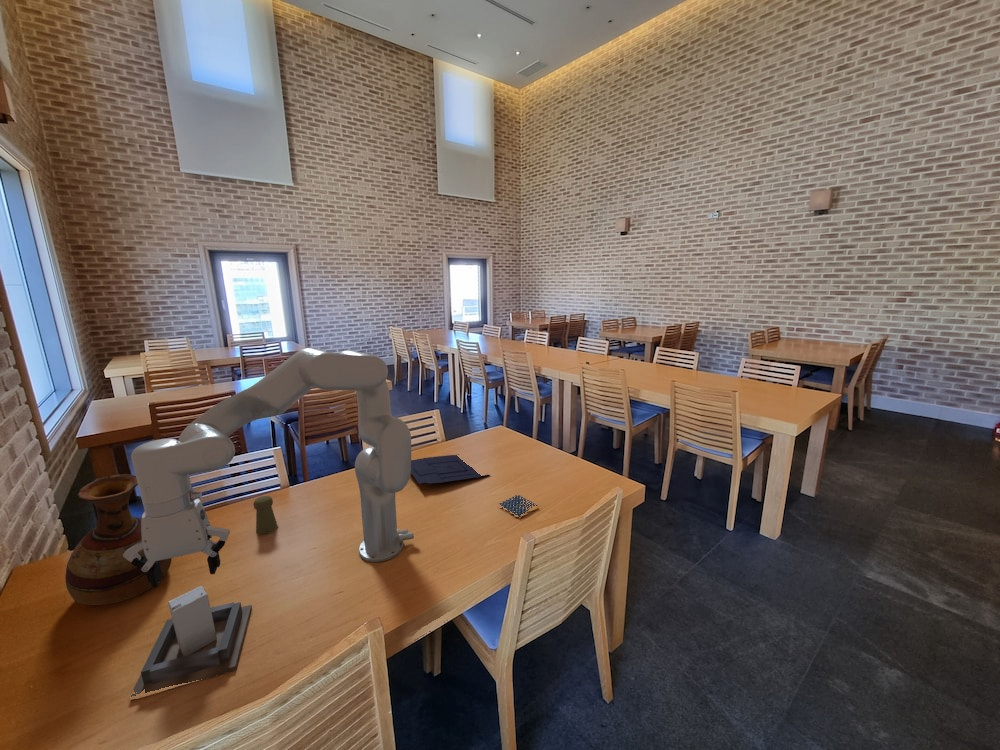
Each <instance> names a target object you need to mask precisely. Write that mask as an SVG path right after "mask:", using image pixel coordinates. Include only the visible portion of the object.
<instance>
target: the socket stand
mask: <svg viewBox="0 0 1000 750" xmlns="http://www.w3.org/2000/svg"><path fill="white" fill-rule="evenodd" d="M210 608H211V613H212V617H213V622H214V627H215V632H216V636H217V639H216V640H215V641H213V642H211V643H209V644H208V645H206V646H204V647H202V648H201V649H199V650H197V651H196V652H194V653H192V654H190V655H187V656H184V657H183V654H182V652H181V649H180V647H179V644H178V640H177V636H176V633H175V629H174V625H173V620H172V618H169V619H166V620H165V623H164V625H163V626H162V628H161V631H160V633H159V635H158V636H157V639H156V641H155V642H154V645H153V647H152V650H151V651H150V653H149V655H148V657H147V659H146V661H145V663H144V665H143V667H142V669H141V671H140V675H139V677H138V679H137V681H136V682H135V685H134V687H133V689H132V691H133V690H134V692H135V694H132V695H131V694H130V695H131V697H132V696H136V694H140V693H141V692H142V691H143V690H144V689H145V693H147V692H150V691H155V690H159V689H161V688H165V687H169V686H173V685H178V684H182V683H188V682H192V681H196V680H201V679H204V680H207V679H206V678H208V679H210V678H209V677H211V678H214V677H217V676H216V675H218V676H220V674H221V675H223V673H224V674H228V673H231V672H234V671H237V668H238V665H239V664H238V663H239V660H240V656H241V651H242V648H243V644H244V641H245V637H246V636H245V635H246V633H247V629H248V624H249V621H250V616H251V614H252V613H251V612H252V610H253V606H252V604H249V605H244V606H242V602H241V601H239V602H235V603H234V602H232V601H231V602H229V603H225V604H221V605H220V604H219V605H217V606H212V607H210ZM230 671H231V672H230ZM227 672H228V673H227ZM213 676H214V677H213ZM201 681H202V680H201ZM136 692H137V693H136Z"/></svg>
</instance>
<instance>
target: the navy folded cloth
mask: <svg viewBox="0 0 1000 750" xmlns="http://www.w3.org/2000/svg"><path fill="white" fill-rule="evenodd" d="M457 455H458V454H448V455H441V456H440V455H439V456H438V455H437V456H430V457H429V456H428V457H423V458H422V457H421V458H416V459H411V475H412V477H414V479H415V481H416V482H417V483H418V484H424V483H425V484H428V485H429V484H440V483H446V482H453V481H461V480H467V479H468V480H469V479H473V478H474V479H475V478H482V477H481V475H480V474H478V473H477V472H476V471H475V470H474V469H473V468H472V467H470V466H469V465H467V464H466V463H465V462H463V460H461V459H460V458H459V457H458V456H457Z"/></svg>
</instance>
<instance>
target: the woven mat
mask: <svg viewBox="0 0 1000 750" xmlns="http://www.w3.org/2000/svg"><path fill="white" fill-rule="evenodd" d="M517 495H518V496H517ZM514 497H515V498H514ZM520 497H521V499H520ZM522 498H523V499H522ZM512 499H513V500H512ZM523 500H524V501H525V502H524V504H525V505H526V506H525V505H524V504H523ZM526 500H527V501H529V502H528V503H530V502H531V503H530V504H531V505H530V504H528V503H527V504H528V505H527V504H526V502H527V501H526ZM521 501H522V502H521ZM517 502H518V503H517ZM520 502H521V503H520ZM532 503H533V504H532ZM498 504H499V505H501V506H503V507H504V508H506V509H507V510H508V511H511V512H512V513H514V514H515V515H518V516H520V515H521V514H523V513H525V512H526V511H528V510H529V509H530V508H529V507H530V506H531V508H532V505H533V506H535V505H536V504H537V503H535V502H532V501H531V500H530V499H527V498H525V497H523V496H522V495H520V494H515V495H514V496H511V497H509V498H508V499H505V501H503V500H502V502H499V503H498ZM521 504H522V505H521ZM534 504H535V505H534ZM513 505H514V506H513ZM529 505H530V506H529ZM520 506H521V507H520ZM527 506H528V507H527ZM536 506H537V507H538V504H537V505H536ZM519 507H520V508H519ZM523 507H524V509H523ZM526 507H527V509H528V508H529V509H528V510H526ZM516 509H517V510H516ZM507 510H506V511H507ZM514 511H515V512H514ZM516 513H517V514H516Z"/></svg>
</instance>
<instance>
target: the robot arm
mask: <svg viewBox="0 0 1000 750" xmlns="http://www.w3.org/2000/svg"><path fill="white" fill-rule="evenodd" d="M388 374H389V369H388V365H387V364H386V361H384V360H383V358H382V357H379V356H377V355H374V354H370V353H366V352H361V351H358V350H352V349H351V350H350V349H349V350H347V349H346V350H342V351H341V352H339V353H336V352H329V351H325V350H322V349H318V348H313V347H312V348H311V347H306V348H303V349H300V350H298V351H297V352H295V353H294V354H292V355H291V356H290V357H289V358H287V359H286V360H285V361H283V362H282V363H280V364H279V365H278V366H277V367H276V368H274V369H273V370H271V372H269V373H267V375H265V376H264V377H262V378H261V379H260V380H259V381H257V382H255V383H254V384H253V385H252V386H250V387H248V388H246V389H243V390H241V391H239V392H238V393H235V394H233V395H232V396H229V397H227V398H225V399H223V400H222V401H220V402H218V403H216V404H215V405H213V406H212V407H210V408H209V409H208V410H206V411H204V413H202V414H201V415H200V416H198V417H197V418H196V419H194V420H193V421H192V422H190V423H189V424H188V425H187V426H186V427H185V428H184V429H183V430H182V431H181V433H180V435H179V437H178V439H174V438H162V439H161V438H160V439H155V440H150V441H147V442H144V443H142V444H140V445H138V446H136V447H135V448H134V449H133V450H132V452H131V456H130V457H131V462H132V467H133V469H134V470H133V471H134V474H135V475H134V476H136V479H137V483H138V485H137V487H138V490H139V495H140V498H141V499H140V500H141V502H142V506H143V511H144V512H143V513H142V515H141V518H142V521H141V534H142V541H140V542H139V543H137V544H135V545H134V546H132V547H130V548H129V549H127V550H126V551H125V552H124V554H123V557H125V558H126V559H127V560H128V561H130V562H131V564H132V565H134V566H136V567H139V568H141V570H142V571H143V572H146V575H147V579H148V582H149V583H150V582H151V585H152V587H151V588H152V589H155V588H157V587H158V586H159V585H160V582H161V581H162V579H163V577H164V576H162V572H161V568H160V564H159V562H158V561H159V560H164V559H169V558H172V559H174V558H177V557H183V556H187V555H191V554H196V553H197V554H198V553H200V552H202V554H204V555H207V558H206V560H207V565H208V569H209V574H210V575H215V574H216V572H217V569H218V568H219V567H220V566H221V558H220V554H219V552H220V551H221V550H222V549H223V548H224V546H225V545H226V543H227V540H228V537H229V535H230V533H231V530H230V528H229V529H228V528H224V527H217V526H211V524H210V519H209V516H208V514H207V512H206V510H205V507H204V505H203V503H202V501H201V500H200V499H202V496H203V492H202V491H197V490H196V491H195V490H194V486H192V481H191V478H190V475H196V474H202V473H207V472H213V471H217V470H219V469H222V468H224V467H226V466H227V465H229V463H231V461H232V460H233V459H234V457H235V453H236V448H235V444H234V443H233V441H232V439H230V438H229V437H230V436H231V435H232V434H234V433H235V432H237V430H239V429H240V428H242V427H244V426H245V425H247V424H250V423H251V422H255V421H257V420H261V419H266V418H271V417H276V416H279V415H282V414H283V413H285V412H286V411H288V409H290V408H291V407H292V406H293V405H294V404H296V402H298V401H299V400H300V399H302V398H303V397H304V396H305V395H306V394H307V393H309V392H310V391H311V390H312V389H313V388H316V389H320V390H324V391H354V392H355V394H356V398H357V418H358V419H357V420H358V421H357V422H358V423H357V424H358V427H357V428H358V436H359V438H360V440H361V441H362V442H363V443H365V444H366V445H368V447H365V448H364V449H362V450H360V452H359V453H358V454H357V456H356V459H355V462H354V472H355V478H356V480H357V484H358V488H359V496H360V508H361V519H362V520H361V521H362V533H363V541H362V542H361V543H360V544H359V548H358V554H359V556H360V558H361V559H363V560H364V561H367V562H371V563H381V562H385V561H388V560H391V559H392V558H395V557H397V556H398V555H399V554H400V553H401V552H402V550H403V548H404V541H408V540H413V539H414V537H415V536H414V535H415V534H414V531H411V532H410V531H409V529H408V528H406V529H403V530H400V529H399V528H398V525H397V523H398V522H397V507H396V506H397V505H396V494H397V493H399V492H401V491H402V490H403V489H404V488H405V487H406V486H407V485H408V483H409V481H410V478H411V475H412V474H411V460H412V435H411V431H410V428H409V425H408V424H407V423H406V421H403V420H402V419H400V418H398V417H396V416H394V415H393V414H392V405H391V394H390V389H389V385H388V383H387V378H388ZM213 537H219V540H218V541H217V542H215V541H214V540H212V538H213ZM142 549H144V554H145V556H142V555H139V554H138V553H137V552H139V551H140V550H142Z"/></svg>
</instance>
